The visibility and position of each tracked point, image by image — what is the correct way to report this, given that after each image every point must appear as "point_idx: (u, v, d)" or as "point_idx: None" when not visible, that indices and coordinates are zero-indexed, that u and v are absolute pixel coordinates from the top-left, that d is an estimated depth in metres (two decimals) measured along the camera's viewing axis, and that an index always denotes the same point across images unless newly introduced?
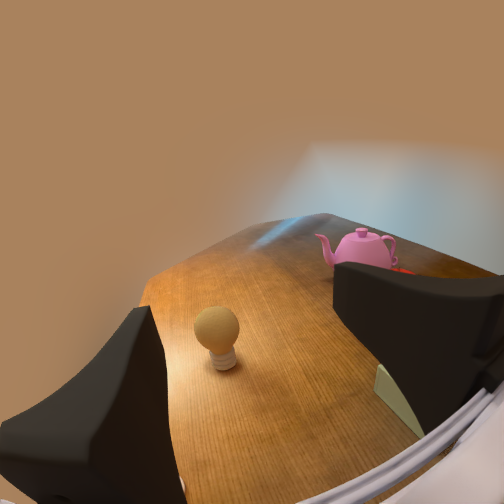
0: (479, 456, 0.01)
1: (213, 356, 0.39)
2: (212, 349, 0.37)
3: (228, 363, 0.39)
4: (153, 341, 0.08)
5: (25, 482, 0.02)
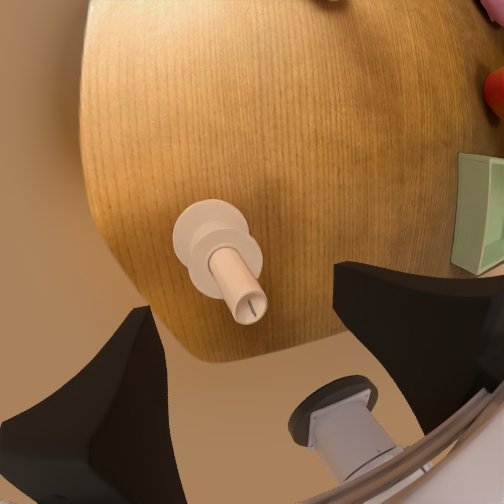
0: (479, 456, 0.01)
1: None
2: None
3: None
4: (153, 341, 0.08)
5: (25, 482, 0.02)
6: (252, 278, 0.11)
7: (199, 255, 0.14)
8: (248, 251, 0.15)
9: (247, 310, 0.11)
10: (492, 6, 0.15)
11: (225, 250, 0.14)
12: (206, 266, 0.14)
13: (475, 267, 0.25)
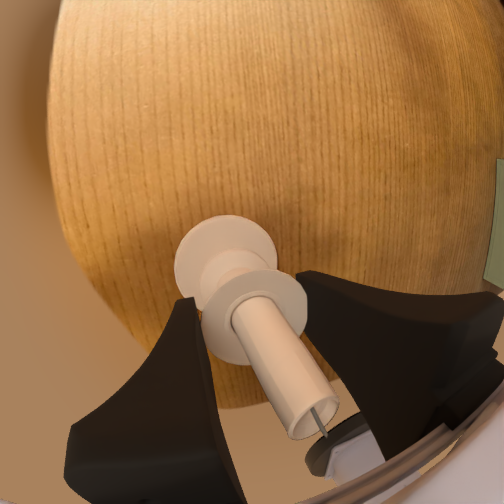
0: (479, 456, 0.01)
1: None
2: None
3: None
4: (201, 331, 0.09)
5: (104, 491, 0.02)
6: (314, 366, 0.06)
7: (217, 310, 0.09)
8: (289, 300, 0.10)
9: (307, 418, 0.06)
10: None
11: (257, 303, 0.09)
12: (227, 324, 0.09)
13: None
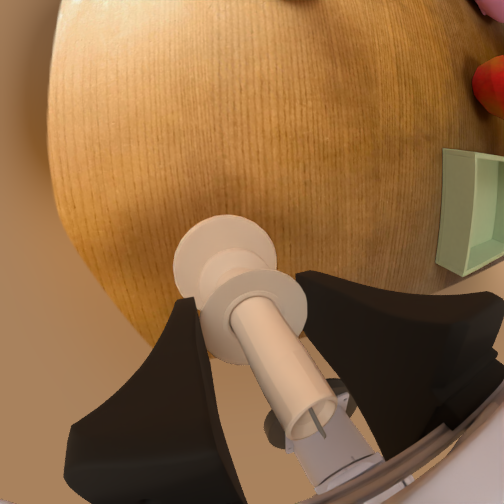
0: (479, 456, 0.01)
1: None
2: None
3: None
4: (201, 332, 0.09)
5: (104, 491, 0.02)
6: (312, 366, 0.06)
7: (215, 310, 0.09)
8: (288, 300, 0.10)
9: (305, 418, 0.06)
10: None
11: (256, 303, 0.09)
12: (226, 324, 0.09)
13: (461, 268, 0.24)
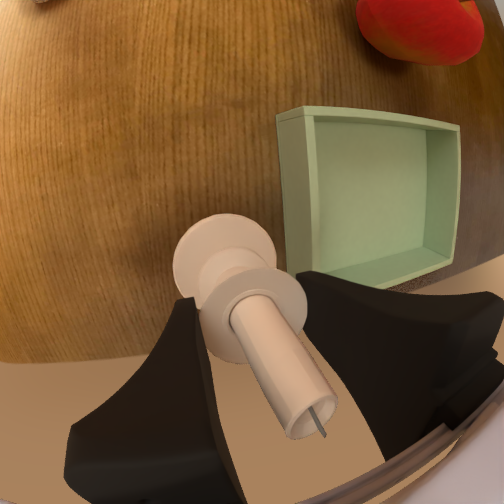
0: (479, 456, 0.01)
1: None
2: None
3: None
4: (201, 331, 0.09)
5: (104, 491, 0.02)
6: (312, 364, 0.06)
7: (215, 308, 0.09)
8: (288, 299, 0.10)
9: (305, 417, 0.06)
10: None
11: (256, 301, 0.09)
12: (226, 323, 0.09)
13: None
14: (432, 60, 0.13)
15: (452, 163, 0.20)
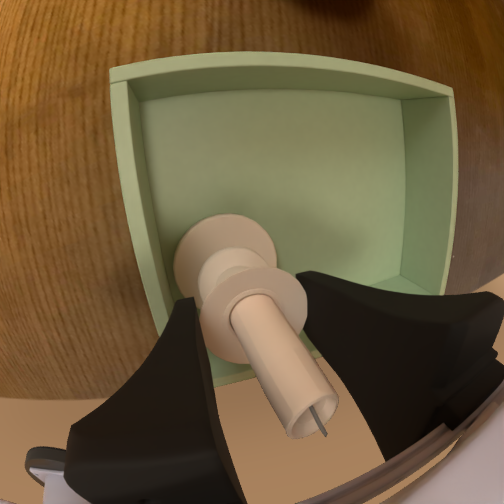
0: (479, 456, 0.01)
1: None
2: None
3: None
4: (201, 331, 0.09)
5: (104, 491, 0.02)
6: (313, 364, 0.06)
7: (215, 308, 0.09)
8: (288, 298, 0.10)
9: (306, 416, 0.06)
10: None
11: (256, 301, 0.09)
12: (226, 322, 0.09)
13: None
14: None
15: (444, 148, 0.12)
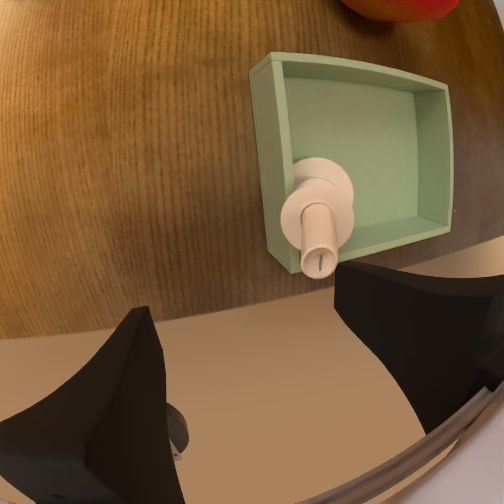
0: (479, 456, 0.01)
1: None
2: None
3: None
4: (151, 341, 0.08)
5: (23, 481, 0.02)
6: (330, 235, 0.11)
7: (292, 206, 0.14)
8: (341, 211, 0.14)
9: (317, 264, 0.11)
10: None
11: (318, 206, 0.14)
12: (298, 218, 0.15)
13: (287, 258, 0.17)
14: (410, 14, 0.12)
15: (443, 123, 0.18)
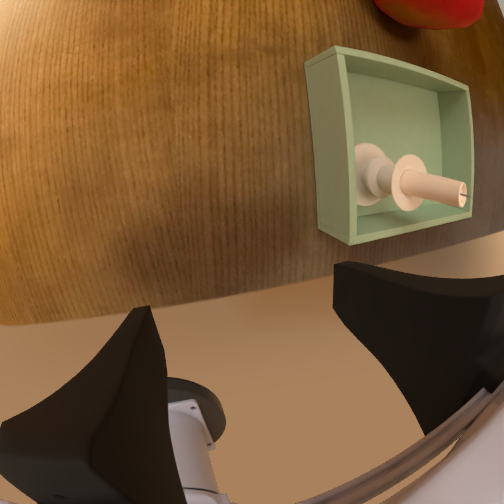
0: (479, 456, 0.01)
1: None
2: None
3: None
4: (153, 341, 0.08)
5: (25, 482, 0.02)
6: None
7: (397, 171, 0.16)
8: None
9: None
10: None
11: (412, 170, 0.16)
12: (399, 182, 0.16)
13: (345, 231, 0.18)
14: (441, 23, 0.12)
15: (464, 120, 0.19)
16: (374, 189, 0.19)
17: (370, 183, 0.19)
